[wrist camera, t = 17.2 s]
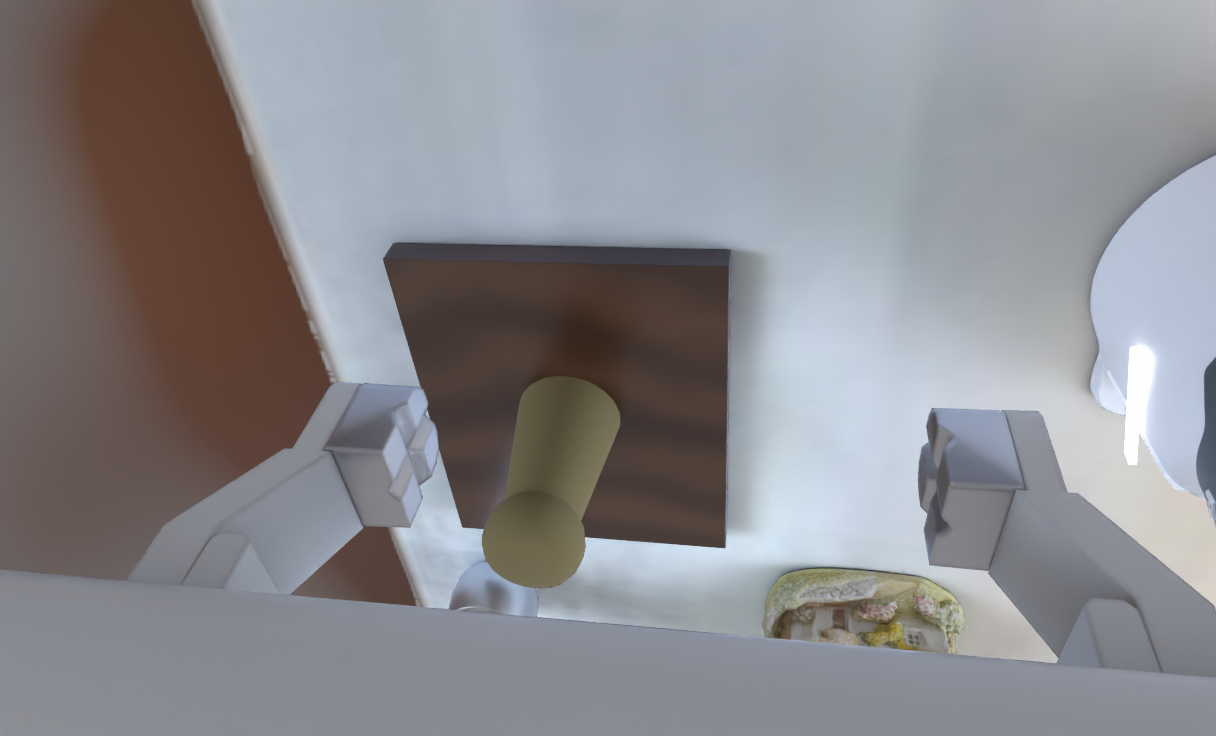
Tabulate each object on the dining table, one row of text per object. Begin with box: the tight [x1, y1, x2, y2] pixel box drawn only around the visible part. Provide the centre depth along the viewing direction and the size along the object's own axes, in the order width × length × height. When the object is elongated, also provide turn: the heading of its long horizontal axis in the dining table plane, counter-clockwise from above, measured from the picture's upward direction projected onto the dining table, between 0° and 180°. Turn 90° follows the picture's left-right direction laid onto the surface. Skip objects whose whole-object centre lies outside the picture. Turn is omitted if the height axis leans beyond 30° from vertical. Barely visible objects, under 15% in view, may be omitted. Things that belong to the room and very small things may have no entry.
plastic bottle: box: [449, 562, 538, 617], centre depth 58 cm, size 6×7×20 cm
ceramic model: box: [762, 568, 965, 654], centre depth 57 cm, size 14×11×10 cm
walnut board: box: [383, 243, 731, 548], centre depth 51 cm, size 22×18×2 cm
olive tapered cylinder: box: [482, 376, 620, 589], centre depth 46 cm, size 6×6×11 cm
